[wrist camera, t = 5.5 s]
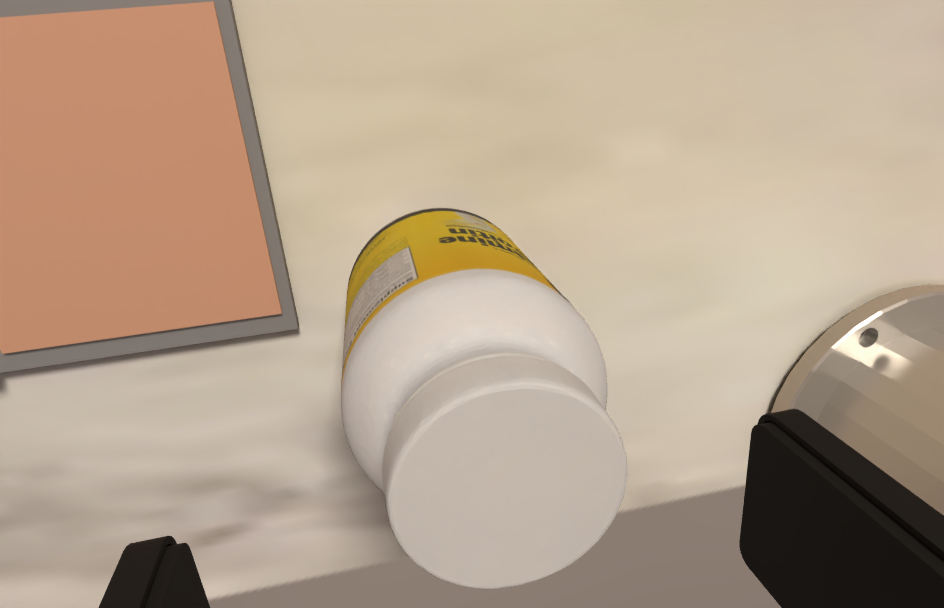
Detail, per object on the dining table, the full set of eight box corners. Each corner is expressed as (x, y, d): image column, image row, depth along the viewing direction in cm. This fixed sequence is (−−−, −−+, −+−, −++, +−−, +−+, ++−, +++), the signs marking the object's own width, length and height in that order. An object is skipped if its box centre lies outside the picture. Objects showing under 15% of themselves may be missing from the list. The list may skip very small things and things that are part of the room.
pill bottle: (551, 314, 23) (720, 520, 13) (407, 400, 23) (451, 676, 13) (469, 166, 21) (594, 265, 10) (308, 264, 21) (260, 464, 10)
